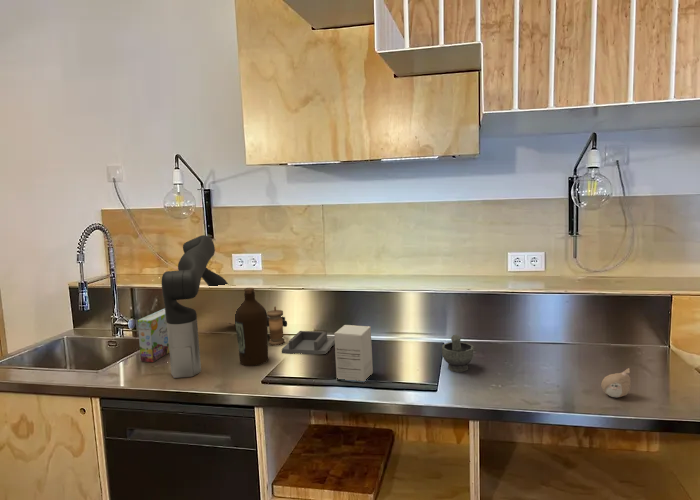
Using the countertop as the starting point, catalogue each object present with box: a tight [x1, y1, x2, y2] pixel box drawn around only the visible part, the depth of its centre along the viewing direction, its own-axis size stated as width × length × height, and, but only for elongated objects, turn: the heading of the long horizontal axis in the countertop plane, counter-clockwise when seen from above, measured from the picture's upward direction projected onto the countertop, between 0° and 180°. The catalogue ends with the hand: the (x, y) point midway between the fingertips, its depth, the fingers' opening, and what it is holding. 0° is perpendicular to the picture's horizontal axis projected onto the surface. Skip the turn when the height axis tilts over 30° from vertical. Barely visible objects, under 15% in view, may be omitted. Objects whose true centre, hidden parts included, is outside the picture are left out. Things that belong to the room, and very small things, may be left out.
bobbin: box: [266, 306, 286, 347], centre depth 190 cm, size 6×6×14 cm
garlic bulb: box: [600, 367, 632, 398], centre depth 134 cm, size 7×6×8 cm
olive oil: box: [235, 287, 269, 367], centre depth 171 cm, size 11×11×25 cm
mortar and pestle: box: [441, 334, 475, 373], centre depth 157 cm, size 11×9×12 cm
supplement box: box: [333, 324, 374, 381], centre depth 154 cm, size 9×9×15 cm
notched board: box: [281, 330, 335, 355], centre depth 184 cm, size 16×14×4 cm
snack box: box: [137, 307, 169, 363], centre depth 185 cm, size 21×6×15 cm, turn 168°
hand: (276, 326), depth 190 cm, fingers open, 8 cm apart
